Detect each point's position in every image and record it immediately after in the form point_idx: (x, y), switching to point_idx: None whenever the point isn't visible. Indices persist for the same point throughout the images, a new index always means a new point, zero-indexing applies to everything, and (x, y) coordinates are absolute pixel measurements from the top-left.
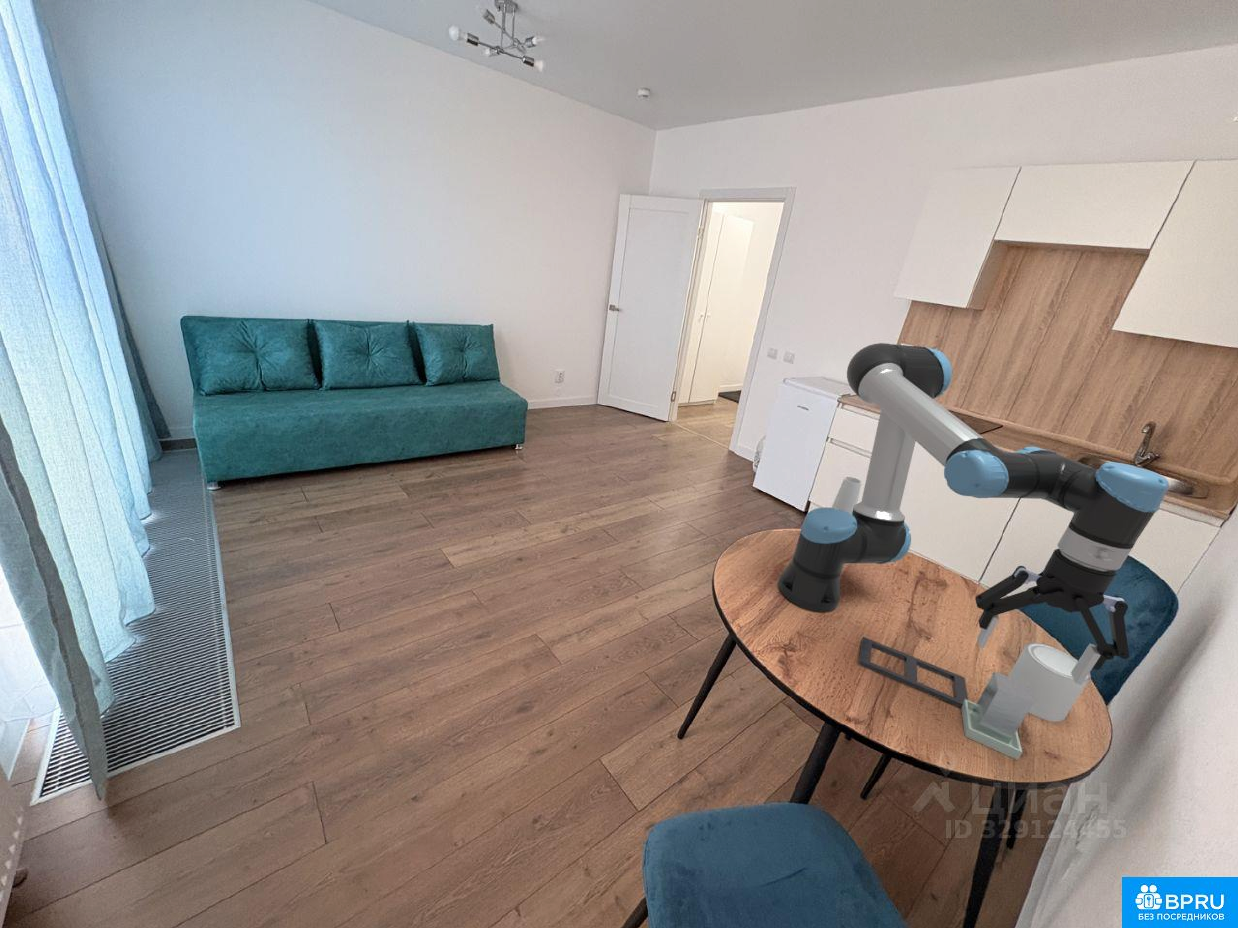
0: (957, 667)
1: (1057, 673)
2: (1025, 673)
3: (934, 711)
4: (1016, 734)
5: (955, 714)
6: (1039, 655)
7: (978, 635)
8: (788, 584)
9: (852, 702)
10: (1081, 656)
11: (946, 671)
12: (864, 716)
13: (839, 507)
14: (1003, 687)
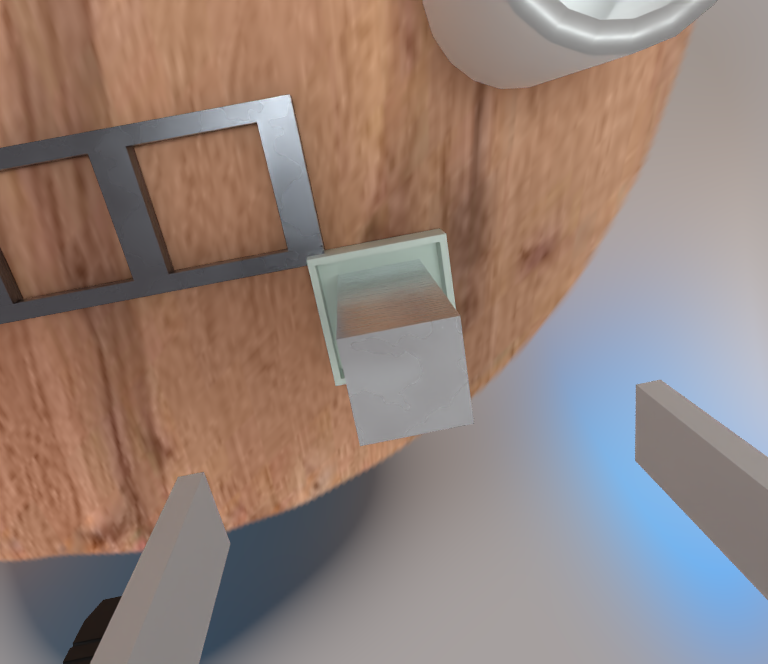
0: (259, 10)
1: (603, 39)
2: (477, 24)
3: (251, 342)
4: (450, 300)
5: (301, 305)
6: None
7: (173, 493)
8: None
9: (75, 486)
10: (727, 463)
11: (228, 115)
12: (120, 505)
13: None
14: (376, 420)
